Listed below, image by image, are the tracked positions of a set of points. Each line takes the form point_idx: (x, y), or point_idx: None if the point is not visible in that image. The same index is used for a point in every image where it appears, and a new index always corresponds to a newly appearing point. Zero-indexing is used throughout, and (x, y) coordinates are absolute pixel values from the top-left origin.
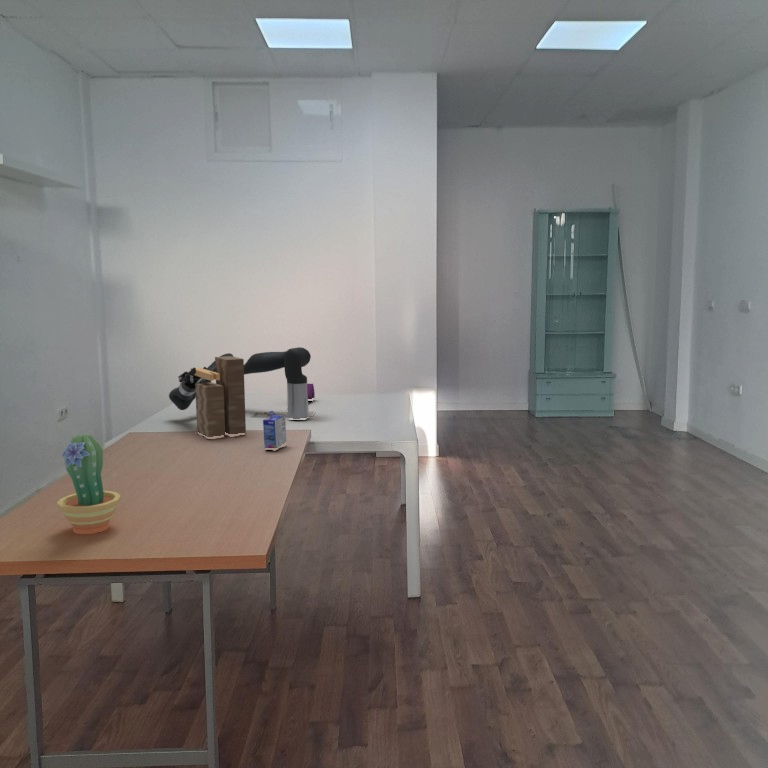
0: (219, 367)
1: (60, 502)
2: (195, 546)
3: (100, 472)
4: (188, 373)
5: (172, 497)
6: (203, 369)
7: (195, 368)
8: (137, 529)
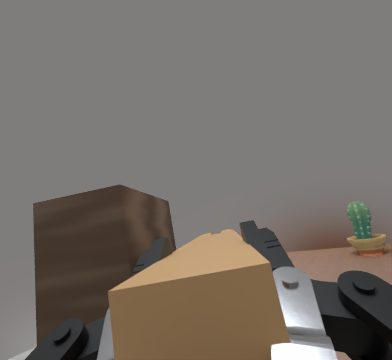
0: (150, 234)
1: (381, 234)
2: (308, 252)
3: (352, 223)
4: (324, 295)
5: (330, 271)
6: (188, 248)
7: (241, 230)
8: (340, 255)
